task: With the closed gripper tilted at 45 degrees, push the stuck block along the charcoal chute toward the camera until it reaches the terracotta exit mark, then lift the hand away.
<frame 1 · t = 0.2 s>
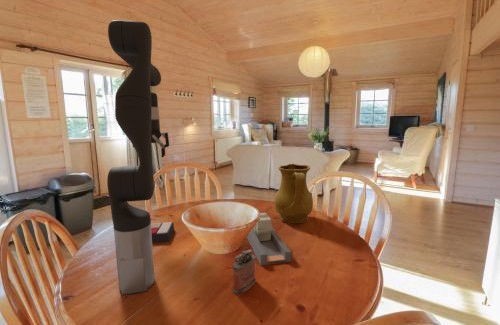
hand: (152, 157, 114), 29 cm above the table, tool pointing down, fingers open, 8 cm apart
dark box: (152, 237, 106), on the table
pitcher: (292, 219, 122), on the table
lighter: (244, 286, 74), on the table
chute: (264, 243, 99), on the table
jammed block: (261, 226, 101), point 5 cm above the table, slide at 0.0 cm
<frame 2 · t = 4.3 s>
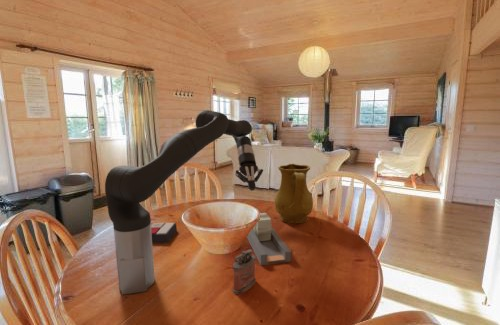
hand: (252, 189, 114), 15 cm above the table, tool tilted 45°, fingers closed
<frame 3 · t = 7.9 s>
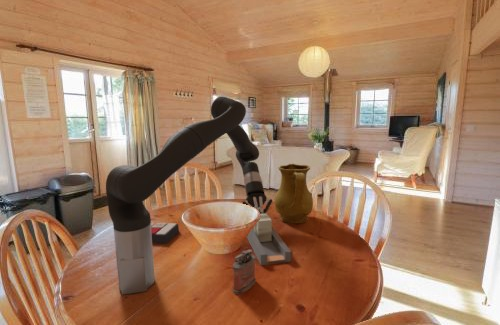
hand: (261, 223, 104), 5 cm above the table, tool tilted 45°, fingers closed
jammed block: (262, 227, 100), point 5 cm above the table, slide at 0.7 cm, touching gripper
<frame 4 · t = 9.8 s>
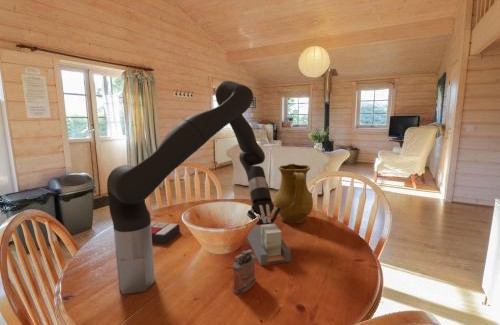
hand: (268, 234, 94), 5 cm above the table, tool tilted 45°, fingers closed
jammed block: (270, 239, 90), point 5 cm above the table, slide at 11.1 cm, touching gripper
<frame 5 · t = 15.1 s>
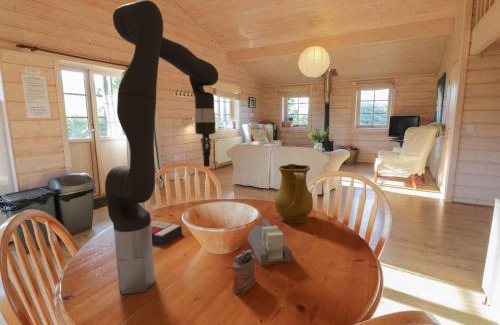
hand: (206, 166, 105), 27 cm above the table, tool pointing down, fingers closed
jammed block: (272, 242, 88), point 5 cm above the table, slide at 12.9 cm
at the end: jammed block slide at 12.9 cm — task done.
